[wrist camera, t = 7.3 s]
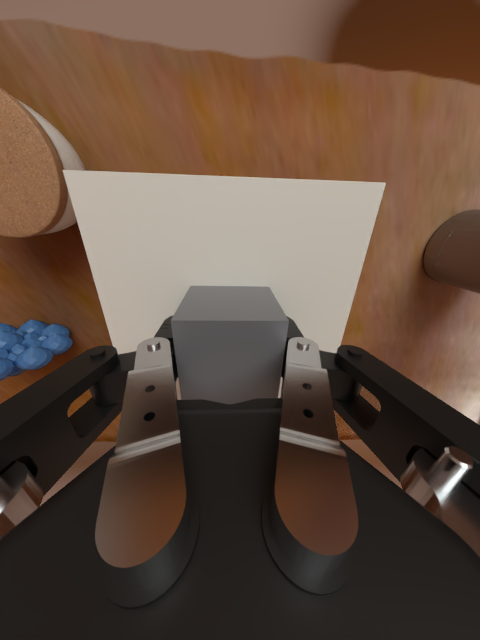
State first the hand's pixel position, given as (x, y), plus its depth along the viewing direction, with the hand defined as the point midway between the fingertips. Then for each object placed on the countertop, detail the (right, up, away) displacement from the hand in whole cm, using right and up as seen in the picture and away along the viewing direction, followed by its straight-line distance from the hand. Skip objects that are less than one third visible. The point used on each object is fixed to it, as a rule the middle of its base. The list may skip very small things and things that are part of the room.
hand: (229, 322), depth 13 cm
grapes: (-28, -1, +18) cm, 34 cm away
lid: (0, +1, +1) cm, 1 cm away
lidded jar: (-20, +16, +10) cm, 27 cm away
